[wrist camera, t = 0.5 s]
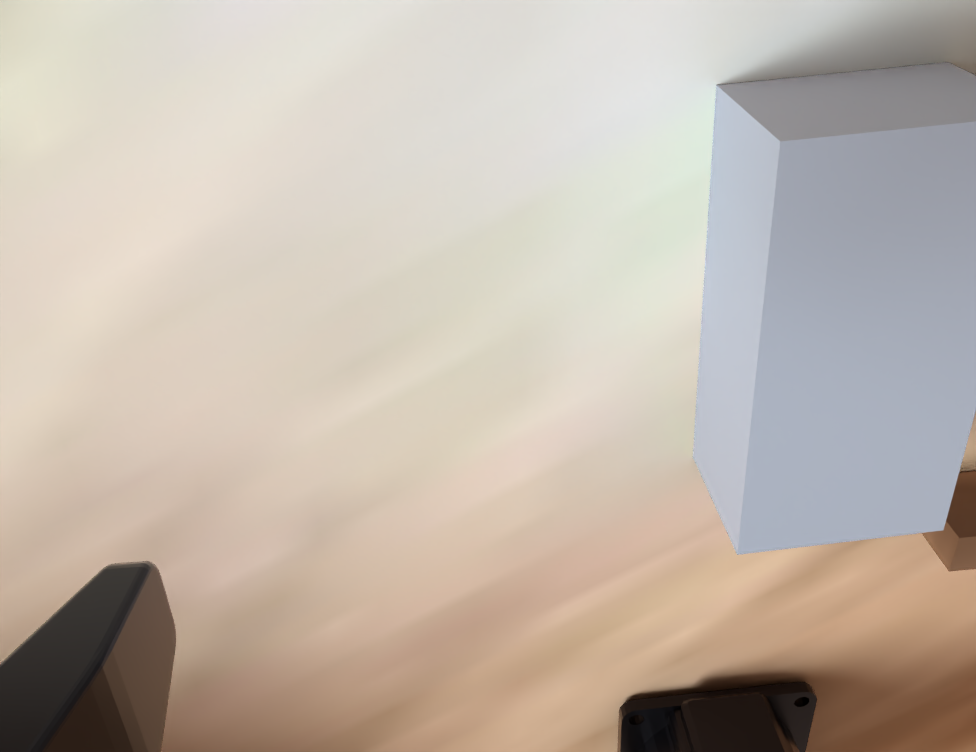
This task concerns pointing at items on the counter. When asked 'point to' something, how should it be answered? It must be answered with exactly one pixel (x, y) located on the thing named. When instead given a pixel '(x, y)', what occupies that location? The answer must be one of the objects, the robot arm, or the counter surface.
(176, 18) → the counter surface
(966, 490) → the brown wooden beams
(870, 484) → the block
